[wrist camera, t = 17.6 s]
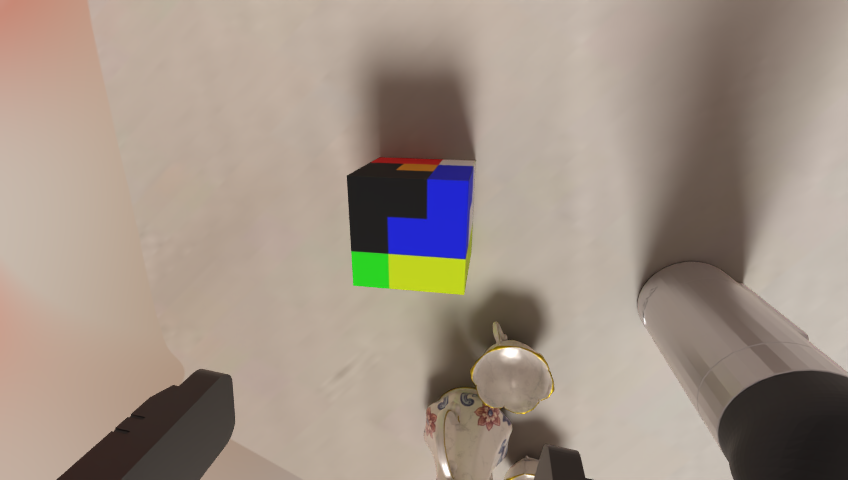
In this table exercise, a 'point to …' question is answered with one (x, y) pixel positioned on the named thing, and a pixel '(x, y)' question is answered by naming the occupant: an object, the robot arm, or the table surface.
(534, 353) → the chinaware
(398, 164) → the puzzle toy
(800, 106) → the table surface
